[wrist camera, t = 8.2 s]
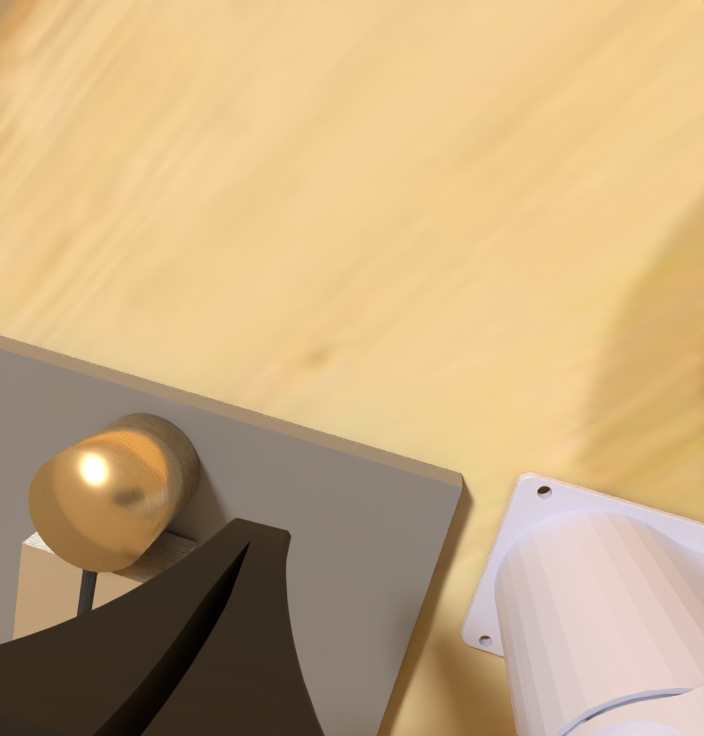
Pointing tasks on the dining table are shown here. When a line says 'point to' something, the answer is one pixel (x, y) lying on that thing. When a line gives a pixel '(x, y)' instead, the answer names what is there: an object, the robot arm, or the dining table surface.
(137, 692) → the robot arm
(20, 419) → the cutting board
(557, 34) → the dining table surface
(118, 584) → the bar
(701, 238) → the dining table surface
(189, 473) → the tongs fixed
